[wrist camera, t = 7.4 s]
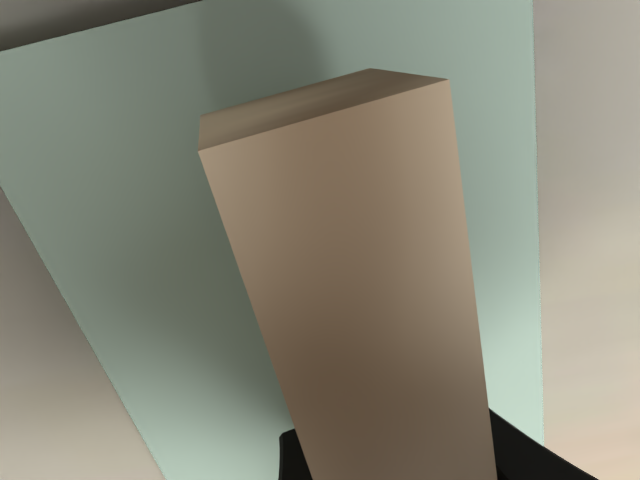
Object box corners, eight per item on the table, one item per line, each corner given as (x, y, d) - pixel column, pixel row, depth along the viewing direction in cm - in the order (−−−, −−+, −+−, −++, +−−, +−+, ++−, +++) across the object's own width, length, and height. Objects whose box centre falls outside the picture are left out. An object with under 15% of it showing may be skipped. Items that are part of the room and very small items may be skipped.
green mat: (512, -78, 10) (530, -83, 9) (536, 524, 19) (546, 539, 18) (-50, 65, 9) (-67, 68, 8) (261, 633, 18) (263, 652, 17)
